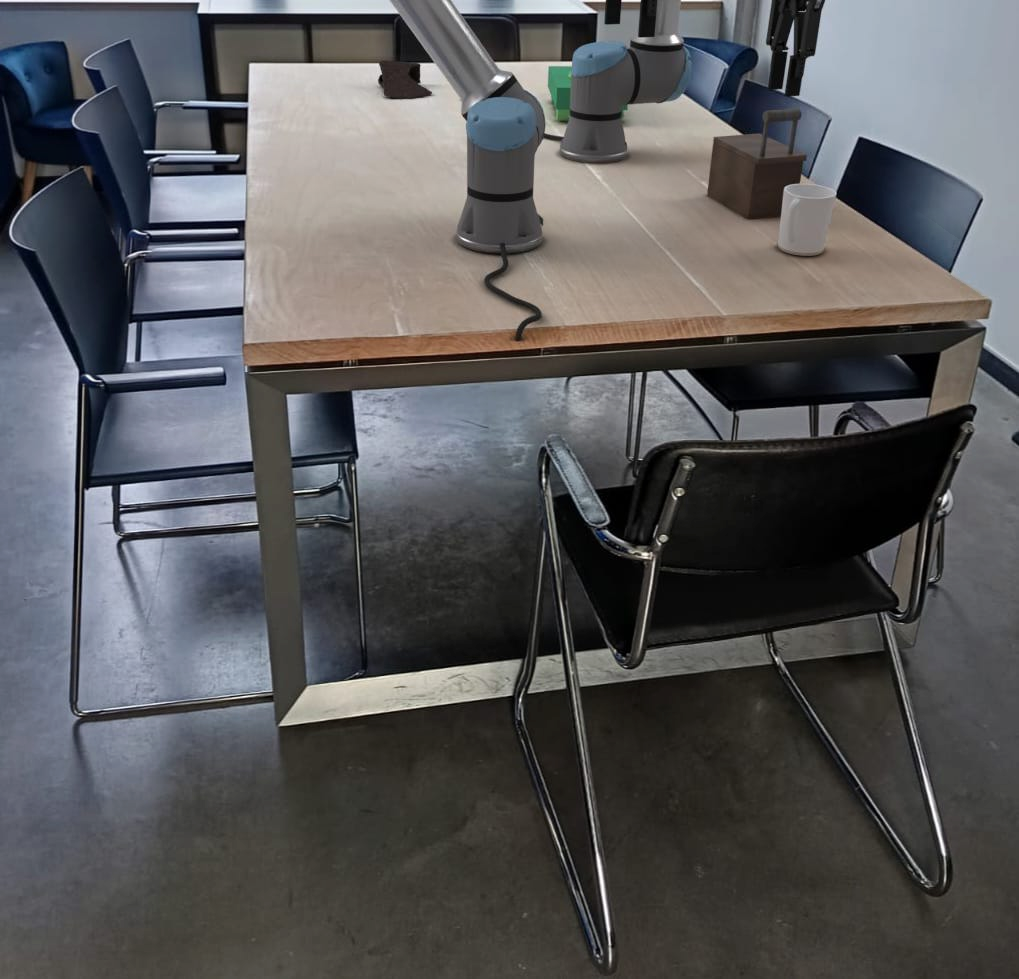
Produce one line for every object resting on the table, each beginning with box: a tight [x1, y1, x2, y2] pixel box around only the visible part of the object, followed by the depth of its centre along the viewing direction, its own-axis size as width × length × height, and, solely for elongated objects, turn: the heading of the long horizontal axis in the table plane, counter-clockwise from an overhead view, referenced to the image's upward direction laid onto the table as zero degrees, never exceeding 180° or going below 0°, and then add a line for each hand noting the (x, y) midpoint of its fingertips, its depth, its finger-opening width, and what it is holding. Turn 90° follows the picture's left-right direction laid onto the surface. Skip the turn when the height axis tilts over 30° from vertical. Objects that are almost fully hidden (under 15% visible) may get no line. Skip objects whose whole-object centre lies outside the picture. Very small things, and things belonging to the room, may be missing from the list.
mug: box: [777, 183, 837, 257], centre depth 191 cm, size 11×9×10 cm
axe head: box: [377, 59, 433, 99], centre depth 299 cm, size 18×8×15 cm
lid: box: [712, 108, 808, 165], centre depth 209 cm, size 17×10×9 cm, turn 20°
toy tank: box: [547, 65, 629, 122], centre depth 283 cm, size 18×12×35 cm
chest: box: [706, 142, 804, 220], centre depth 215 cm, size 16×10×10 cm, turn 20°
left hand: (628, 30), depth 187 cm, fingers open, 13 cm apart
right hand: (783, 92), depth 201 cm, fingers open, 5 cm apart
